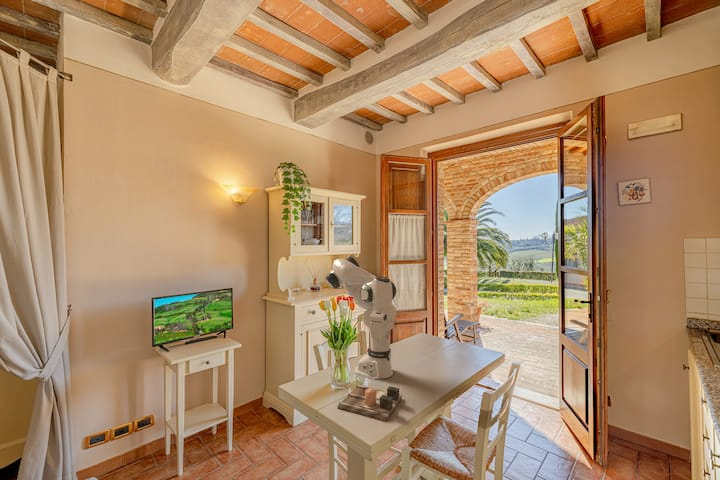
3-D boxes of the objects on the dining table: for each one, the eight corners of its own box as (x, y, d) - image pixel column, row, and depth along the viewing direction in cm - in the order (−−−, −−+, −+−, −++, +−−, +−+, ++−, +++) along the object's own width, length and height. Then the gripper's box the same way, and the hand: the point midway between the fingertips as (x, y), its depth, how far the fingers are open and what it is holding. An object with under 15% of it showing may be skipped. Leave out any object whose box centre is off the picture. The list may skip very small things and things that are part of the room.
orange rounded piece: (363, 405, 139) (363, 392, 139) (368, 400, 144) (368, 387, 144) (373, 408, 137) (373, 394, 137) (378, 402, 142) (377, 389, 141)
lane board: (337, 408, 141) (337, 403, 141) (357, 388, 159) (357, 384, 159) (386, 421, 131) (386, 416, 131) (401, 398, 149) (401, 394, 149)
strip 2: (367, 398, 147) (367, 386, 147) (373, 391, 153) (373, 380, 153) (395, 405, 141) (395, 393, 141) (400, 397, 147) (400, 386, 147)
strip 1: (359, 407, 139) (359, 395, 139) (366, 400, 145) (366, 388, 145) (388, 415, 133) (388, 402, 133) (394, 407, 139) (394, 395, 139)
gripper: (384, 307, 152) (384, 335, 153) (367, 317, 134) (368, 349, 134) (396, 308, 150) (397, 337, 150) (381, 318, 131) (381, 351, 131)
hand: (383, 342), depth 142 cm, fingers open, 8 cm apart
